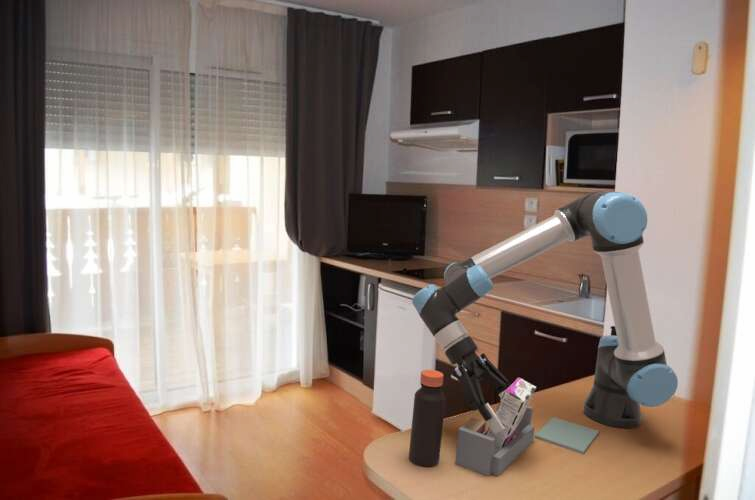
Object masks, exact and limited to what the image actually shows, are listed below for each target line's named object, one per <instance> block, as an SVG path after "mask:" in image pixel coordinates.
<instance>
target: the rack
mask: <svg viewBox="0 0 755 500" xmlns="http://www.w3.org/2000/svg"><path fill="white" fill-rule="evenodd" d="M500 401H501V398H500ZM500 401H499V402H500ZM533 409H534V407H533V406H530V405H528V406H527V409H526V411H525V413H524V415H523V417H522V419H521V421H520V424H519V426H518V428H517V430H516V432H515V435H514V437H513V439H512V440H511V441H510V442H509V443H507V444H506V445H505V446H504V447H503V448H502V449H501V450H500V451H499V452H497V453H496V454H495V455H494V456H493V454H494V446H495V438H492V437H489V436H486V435H483V434H481V433H478V432H475V431H472V430H469V429H466V428H464V427H462V426H461V427H459V428H458V432H457V439H456V440H457V442H456V451H455V459H454V463H455V464H457V465H459V466H462V467H464V468H467V469H469V470H471V471H474V472H476V473H479V474H481V475H484V476H487V477H490V475H494V476H497V477H498V476H499V475H501V474H502V473H503V472H504V471H505V470H506V469H507V467H509V466H510V465H511V464H512V463H513V462H514V460H516V459H517V458H518V457H519V456H520V455H521V454H522V453H523V452H524V451H525V450H526V449H527V448H528V447H529V446H530V445H531V444H532V443H533V442H534V438H535V427H536V426H535V425H533V424H532V418H533V412H534V411H533Z"/></svg>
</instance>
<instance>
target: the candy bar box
mask: <svg viewBox="0 0 755 500" xmlns="http://www.w3.org/2000/svg"><path fill="white" fill-rule="evenodd" d="M510 385H511V386H510V387H509V388H507V389H506V390H505V392H504V395H503V397H502V399H501V398H500V399H501V401H499V404H498V406H497V409H496V411H495V412H494V413H495V414H496V416H497V417H498V419H499V420H500V422H501V423H502V425H503V426H504V428H505V429H503V430H502V431H500V432H498V433H497V434H495V435H494V433H493V432H492V430H491V428H490V427H489V426H488V429H487V430H486V431H487V433H486V436H489V437H492V438H495V446H494V454H493V456H494V455H495V454H496V453H497V452H499V451H500V450H501V449H502V448H503V447H504V446H505V445H506V444H507V443H509V442H510V441H511V440H512V439H513V438H514V437H515V436H516V435H515V432H516V430H517V428H518V426H519V424H520V421H521V419H522V417H523V415H524V413H525V411H526V409H527V406H529V404H530V401H531V399H532V397H533V395H534V393H535V391H536V389H537V386H535V385H533V384H532V383H530V382H529V381H527V380H525V379H524V378H521V377H517V378H516V379H515V381H513V383H512V384H510Z"/></svg>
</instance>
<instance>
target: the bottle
mask: <svg viewBox="0 0 755 500" xmlns="http://www.w3.org/2000/svg"><path fill="white" fill-rule="evenodd" d="M444 376H445V375H444V373H443V372H441V371H438V370H435V369H425V370H422V371H421V372H420V384H419V385H420V388H419V389H417V390H416V391H415V393H414V398H413V408H412V409H413V411H412V420H411V430H410V440H409V441H410V443H409V451H408V459H409V461H411V462H412V463H414V464H415V465H416V466H417V465H418V466H421V467H433V466H435V465H437V464H439V461H440V458H441V457H440V455H441V445H442V435H443V427H444V416H445V408H446V400H447V399H446V396H445V393H444V392H443V391H442V390H441V388H442V387H443V384H444Z"/></svg>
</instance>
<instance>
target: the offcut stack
mask: <svg viewBox="0 0 755 500" xmlns="http://www.w3.org/2000/svg"><path fill="white" fill-rule="evenodd" d="M486 425H487V422H486V421H485V420H482V419H478V418H476V417H471V418H470V419H469V420H467V421H466V422H465V423H464V424H463V425H462V426H461V427H464V428H466V429H469V430H472V431H475V432H478V433H481V434H483V435H486V433H487V431H488V430H486Z"/></svg>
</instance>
